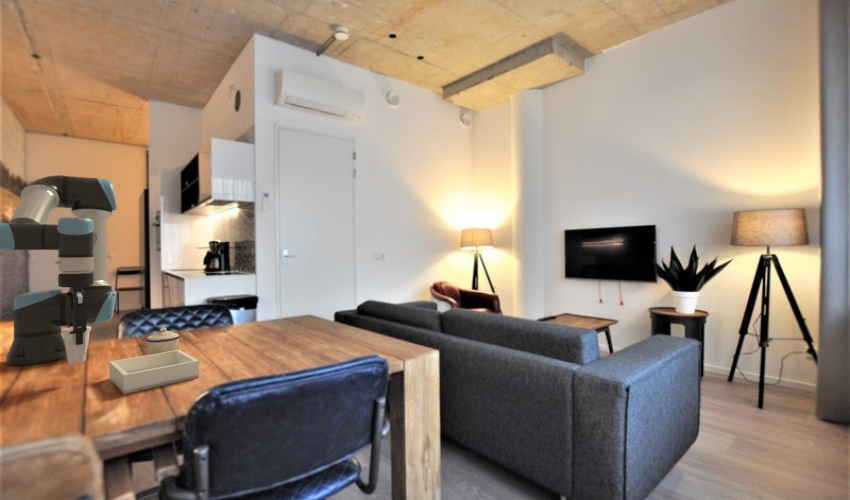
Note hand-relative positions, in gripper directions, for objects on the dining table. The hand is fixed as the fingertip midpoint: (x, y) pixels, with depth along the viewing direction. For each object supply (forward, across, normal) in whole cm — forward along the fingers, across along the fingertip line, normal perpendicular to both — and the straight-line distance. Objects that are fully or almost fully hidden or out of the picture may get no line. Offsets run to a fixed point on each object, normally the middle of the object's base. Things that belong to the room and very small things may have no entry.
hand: (76, 353), depth 112 cm
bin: (+8, +12, +16) cm, 21 cm away
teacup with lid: (+9, -4, +22) cm, 24 cm away
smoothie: (+3, 0, 0) cm, 3 cm away
